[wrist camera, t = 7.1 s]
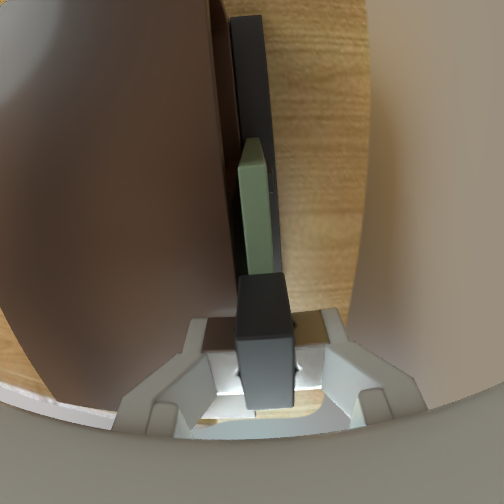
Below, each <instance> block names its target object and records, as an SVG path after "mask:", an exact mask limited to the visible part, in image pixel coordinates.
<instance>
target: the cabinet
mask: <svg viewBox="0 0 504 504" xmlns="http://www.w3.org/2000/svg"><path fill="white" fill-rule="evenodd" d="M230 26H231V36H232V46H233V56H234V67H235V77H236V87H237V97H238V107H239V117H240V127H241V138H242V148H244V145H245V142H246V138H254V137H259V139H260V143H261V147H262V151H263V154H264V158H268V160H269V163H270V166H271V169H272V172H273V181H274V192H272V193H269V203H270V217H271V231H272V245H273V260H274V273H278V272H282V263H281V244H280V227H279V210H278V195H277V180H276V166H275V153H274V140H273V128H272V116H271V105H270V94H269V83H268V73H267V63H266V53H265V43H264V34H263V25H262V16H261V15H253V16H241V17H231V18H230ZM241 155H242V150H241V140H240V130H239V120H238V110H237V100H236V89H235V79H234V69H233V59H232V49H231V39H230V29H229V20H228V16H227V13H226V9H225V6H224V2H223V0H8V1H6V2H5V3H3V4H2V5H1V6H0V307H1V309H2V311H3V313H4V315H5V317H6V319H7V321H8V323H9V325H10V327H11V329H12V331H13V333H14V335H15V336H16V338H17V340H18V342H19V344H20V345H21V347H22V349H23V350H24V352H25V354H26V355H27V357H28V359H29V360H30V362H31V364H32V365H33V367H34V368H35V370H36V371H37V373H38V374H39V376H40V377H41V379H42V380H43V382H44V383H45V385H46V386H47V388H48V389H49V391H50V392H51V393H52V395H53V396H54V398H55V399H56V400H57V401H58V402H62V403H67V404H72V405H77V406H83V407H88V408H94V409H100V410H107V411H114V412H118V409H119V407H120V404H121V401H122V398H123V397H124V396H125V395H127V394H128V393H129V392H130V391H132V390H133V389H134V388H135V387H137V386H138V385H139V384H140V383H142V382H143V381H144V380H145V379H147V378H148V377H149V376H150V375H152V374H153V373H154V372H155V371H157V370H158V369H159V368H160V367H162V366H163V365H164V364H165V363H166V362H168V361H169V360H170V359H171V358H173V357H174V356H175V355H176V354H181V353H182V352H183V348H184V344H185V340H186V336H187V333H188V329H189V325H190V321H191V320H192V319H193V318H209V317H236V310H237V297H238V284H239V277H240V276H241V275H249V273H248V264H247V254H246V245H245V236H244V226H243V217H242V207H241V198H240V188H239V179H238V165H239V162H240V159H241ZM217 396H218V397H217V398H216V400H215V401H214V402H213V403H212V405H211V406H210V407H209V408H208V410H207V411H206V412H205V413H204V415H203V416H202V417H201V418H255V417H256V410H247V408H246V403H245V397H244V394H233V395H217Z"/></svg>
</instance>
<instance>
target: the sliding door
mask: <svg viewBox="0 0 504 504" xmlns="http://www.w3.org/2000/svg"><path fill="white" fill-rule="evenodd" d="M238 179H239V188H240V198H241V207H242V217H243V226H244V236H245V245H246V254H247V264H248V273H249V275H241V276H240V277H239V284H238V297H237V310H236V323H235V336H234V341H235V346H236V352H237V358H238V364H239V370H240V375H241V381H242V386H243V392H244V397H245V403H246V408H247V410H269V409H283V408H292V407H293V406H294V390H295V334H294V328H293V322H292V316H291V310H290V305H289V299H288V293H287V287H286V281H285V276H284V273H282V272H278V273H274V260H273V245H272V231H271V217H270V203H269V193H272V192H274V181H273V172H272V169H271V166H270V163H269V160H268V158H264V154H263V151H262V147H261V143H260V139H259V137H254V138H246V142H245V145H244V148H243V152H242V155H241V159H240V162H239V165H238Z"/></svg>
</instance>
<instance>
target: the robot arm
mask: <svg viewBox="0 0 504 504" xmlns="http://www.w3.org/2000/svg"><path fill="white" fill-rule="evenodd" d="M291 316H292V322H293V328H294V334H295V390H306V389H317V388H321V390H322V391H323V392H324V393H325V394H326V395H327V396H328V397H329V398H330V399H331V400H332V401H333V402H334V403H335V404H336V405H337V406H338V407H339V408H340V409H341V410H343V412H345V414H347V416H348V417H350V418H351V421H350V424H349V428H348V429H347V430H341V431H334V432H328V433H320V434H313V435H304V436H295V437H283V438H269V439H246V440H206V439H205V440H204V439H203V440H202V439H194V438H193V436H192V434H191V432H190V430H191V429H192V428H193V427H194V426H195V424H196V423H197V422H198V421H199V419H200V418H201V417H202V416H203V415H204V413H205V412H206V411H207V410H208V408H209V407H210V406H211V405H212V403H213V402H214V401H215V400H216V398H217V397H218V396H217V395H233V394H244V392H243V386H242V381H241V375H240V370H239V364H238V358H237V352H236V346H235V341H234V336H235V323H236V317H209V318H193V319H192V320H191V321H190V325H189V329H188V333H187V336H186V340H185V344H184V348H183V352H182V353H181V354H176V355H175V356H174V357H173V358H171V359H170V360H169V361H168V362H166V363H165V364H164V365H163V366H162V367H160V368H159V369H158V370H157V371H155V372H154V373H153V374H152V375H150V376H149V377H148V378H147V379H145V380H144V381H143V382H142V383H140V384H139V385H138V386H137V387H135V388H134V389H133V390H132V391H130V392H129V393H128V394H127V395H125V396H124V397H123V398H122V401H121V404H120V407H119V409H118V412H117V415H116V418H115V421H114V423H113V426H112V429H111V430H106V429H100V428H94V427H90V426H85V425H80V424H76V423H71V422H67V421H63V420H59V419H55V418H51V417H48V416H44V415H40V414H37V413H34V412H31V411H27V410H24V409H21V408H18V407H15V406H12V405H9V404H7V403H4V402H1V401H0V504H504V382H502V383H500V384H498V385H495V386H493V387H491V388H488V389H486V390H484V391H481V392H479V393H476V394H474V395H471V396H468V397H466V398H463V399H461V400H458V401H455V402H452V403H449V404H446V405H443V406H440V407H437V408H434V409H431V410H428V408H427V406H426V403H425V401H424V399H423V397H422V395H421V393H420V390H419V388H418V386H417V384H416V382H415V380H414V378H413V377H411V376H409V375H408V374H406V373H404V372H403V371H401V370H400V369H398V368H396V367H395V366H393V365H392V364H390V363H388V362H387V361H385V360H384V359H382V358H381V357H379V356H377V355H376V354H374V353H372V352H371V351H369V350H368V349H366V348H365V347H363V346H361V345H360V344H358V343H357V342H355V341H349V339H348V336H347V333H346V330H345V328H344V325H343V323H342V320H341V317H340V315H339V312H338V310H337V308H335V307H334V308H327V309H320V310H315V311H305V312H295V313H291Z"/></svg>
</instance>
